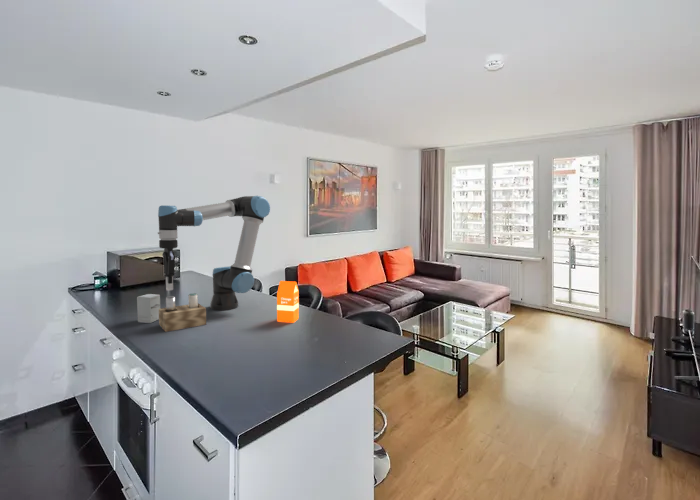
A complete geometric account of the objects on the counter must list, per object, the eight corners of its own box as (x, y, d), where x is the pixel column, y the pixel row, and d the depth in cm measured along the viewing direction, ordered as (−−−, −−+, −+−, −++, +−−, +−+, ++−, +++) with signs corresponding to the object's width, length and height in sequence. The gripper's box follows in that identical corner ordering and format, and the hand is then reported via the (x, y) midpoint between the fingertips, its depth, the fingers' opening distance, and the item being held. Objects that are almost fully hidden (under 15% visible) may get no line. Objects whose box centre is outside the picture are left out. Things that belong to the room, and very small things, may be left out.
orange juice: (293, 323, 180) (293, 283, 178) (276, 321, 182) (276, 282, 180) (298, 318, 188) (298, 280, 186) (282, 317, 189) (282, 279, 187)
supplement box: (150, 323, 176) (149, 297, 175) (137, 322, 178) (136, 296, 176) (161, 319, 183) (160, 294, 182) (148, 318, 185) (147, 293, 184)
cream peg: (196, 309, 180) (195, 292, 179) (199, 311, 177) (198, 294, 176) (187, 310, 177) (187, 293, 176) (190, 312, 174) (189, 295, 173)
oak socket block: (198, 318, 185) (197, 303, 184) (206, 324, 176) (205, 308, 175) (159, 325, 173) (158, 308, 173) (165, 331, 164) (164, 314, 163)
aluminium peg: (174, 312, 174) (174, 295, 173) (176, 314, 170) (176, 297, 170) (165, 314, 171) (164, 296, 170) (167, 316, 168) (166, 298, 167)
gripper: (156, 238, 170) (157, 288, 172) (162, 240, 160) (164, 293, 162) (173, 238, 175) (174, 286, 177) (181, 240, 165) (182, 291, 167)
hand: (169, 290), depth 169 cm, fingers closed
